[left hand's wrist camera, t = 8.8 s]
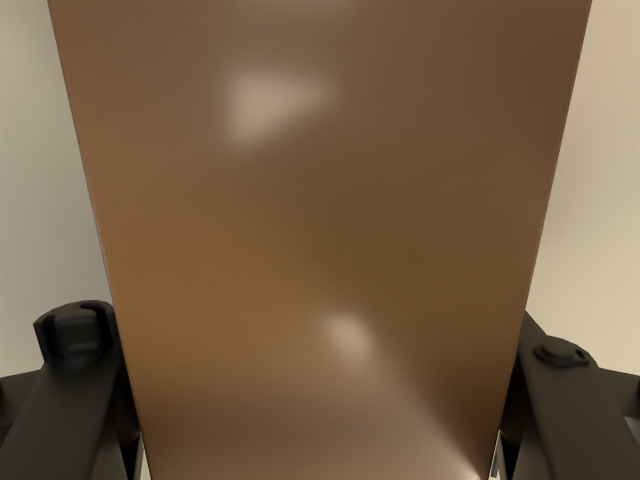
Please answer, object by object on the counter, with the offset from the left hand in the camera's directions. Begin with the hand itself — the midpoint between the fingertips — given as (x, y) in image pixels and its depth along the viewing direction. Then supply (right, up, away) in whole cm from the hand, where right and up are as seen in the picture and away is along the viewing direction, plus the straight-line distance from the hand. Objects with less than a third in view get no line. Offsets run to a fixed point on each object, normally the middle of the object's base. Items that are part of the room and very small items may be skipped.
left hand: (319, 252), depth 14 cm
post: (0, +31, -12) cm, 33 cm away
